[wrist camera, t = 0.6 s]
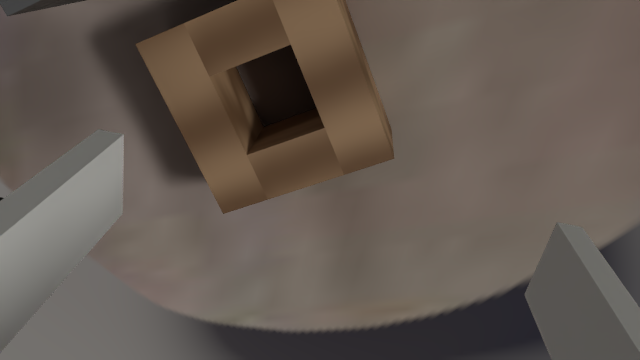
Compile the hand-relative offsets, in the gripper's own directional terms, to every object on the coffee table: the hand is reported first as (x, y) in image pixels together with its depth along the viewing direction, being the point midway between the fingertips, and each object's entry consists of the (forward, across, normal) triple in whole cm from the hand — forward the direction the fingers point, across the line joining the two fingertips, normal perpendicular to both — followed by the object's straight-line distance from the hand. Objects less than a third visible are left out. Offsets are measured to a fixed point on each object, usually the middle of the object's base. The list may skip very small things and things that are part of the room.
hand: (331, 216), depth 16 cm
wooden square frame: (+25, -5, -3) cm, 26 cm away
